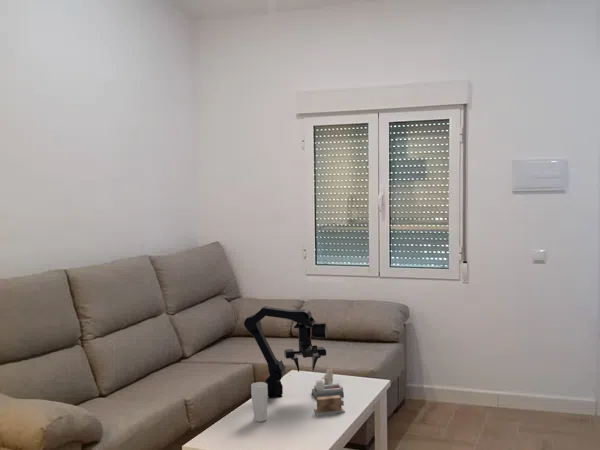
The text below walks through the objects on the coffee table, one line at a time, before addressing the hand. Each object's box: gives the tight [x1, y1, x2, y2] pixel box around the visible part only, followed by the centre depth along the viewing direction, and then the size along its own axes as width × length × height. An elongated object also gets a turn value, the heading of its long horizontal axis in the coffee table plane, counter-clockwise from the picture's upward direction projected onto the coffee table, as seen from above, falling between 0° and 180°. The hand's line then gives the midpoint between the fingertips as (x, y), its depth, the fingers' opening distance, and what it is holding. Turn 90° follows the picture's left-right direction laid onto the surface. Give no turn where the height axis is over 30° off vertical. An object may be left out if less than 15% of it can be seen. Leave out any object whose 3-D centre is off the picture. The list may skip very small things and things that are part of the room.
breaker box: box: [311, 382, 345, 400], centre depth 282 cm, size 13×9×4 cm
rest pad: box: [314, 406, 346, 416], centre depth 260 cm, size 12×6×1 cm, turn 100°
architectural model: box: [321, 368, 334, 385], centre depth 299 cm, size 3×7×7 cm, turn 154°
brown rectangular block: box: [316, 395, 345, 412], centre depth 260 cm, size 11×3×6 cm, turn 101°
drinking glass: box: [250, 381, 268, 423], centre depth 253 cm, size 7×7×15 cm
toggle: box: [315, 379, 325, 390], centre depth 281 cm, size 3×4×4 cm
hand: (305, 371), depth 279 cm, fingers open, 6 cm apart
